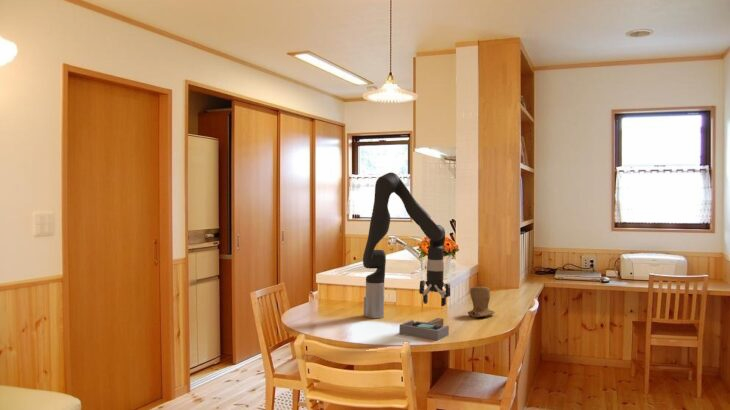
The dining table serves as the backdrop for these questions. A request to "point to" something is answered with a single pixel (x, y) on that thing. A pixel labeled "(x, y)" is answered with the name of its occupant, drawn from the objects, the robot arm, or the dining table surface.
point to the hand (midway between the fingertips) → (434, 304)
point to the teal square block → (427, 326)
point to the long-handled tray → (432, 323)
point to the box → (423, 331)
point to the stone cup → (480, 302)
